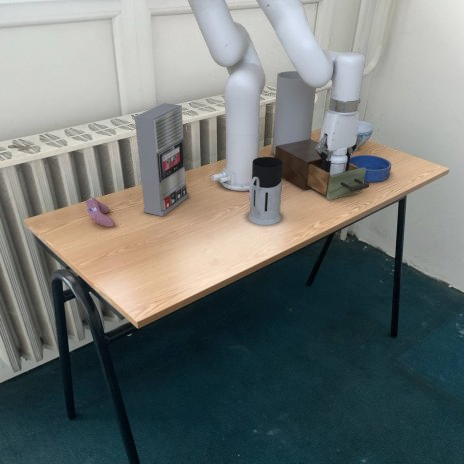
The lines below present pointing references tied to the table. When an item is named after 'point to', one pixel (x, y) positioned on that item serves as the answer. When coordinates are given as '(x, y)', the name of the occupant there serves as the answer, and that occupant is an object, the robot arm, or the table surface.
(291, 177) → the cabinet
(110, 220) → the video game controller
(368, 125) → the chinaware
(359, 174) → the drawer
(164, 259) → the table surface
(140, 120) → the cassette tape recorder
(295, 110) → the cylinder vase
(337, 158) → the pill bottle
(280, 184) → the glass holder
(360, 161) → the bowl
